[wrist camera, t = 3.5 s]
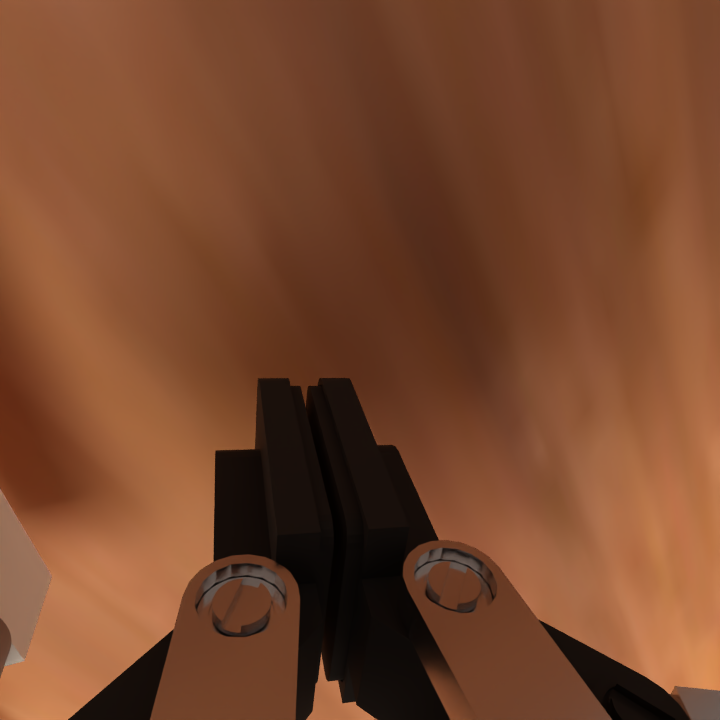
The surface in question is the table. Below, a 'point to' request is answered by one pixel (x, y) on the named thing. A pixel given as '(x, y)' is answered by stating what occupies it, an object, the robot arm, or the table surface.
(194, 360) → the table surface
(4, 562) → the tongs moving jaw
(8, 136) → the table surface
